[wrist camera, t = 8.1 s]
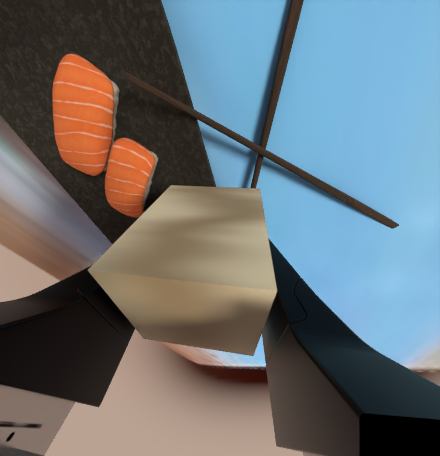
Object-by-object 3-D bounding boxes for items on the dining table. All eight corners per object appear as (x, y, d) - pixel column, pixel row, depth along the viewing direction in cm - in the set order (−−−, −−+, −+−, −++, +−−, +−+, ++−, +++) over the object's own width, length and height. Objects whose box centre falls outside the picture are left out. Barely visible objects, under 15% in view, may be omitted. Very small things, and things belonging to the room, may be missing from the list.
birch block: (259, 188, 8) (277, 291, 4) (250, 253, 11) (253, 355, 7) (171, 185, 9) (87, 269, 4) (184, 248, 12) (143, 338, 7)
